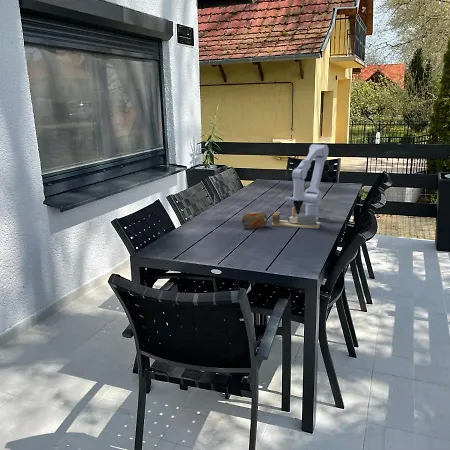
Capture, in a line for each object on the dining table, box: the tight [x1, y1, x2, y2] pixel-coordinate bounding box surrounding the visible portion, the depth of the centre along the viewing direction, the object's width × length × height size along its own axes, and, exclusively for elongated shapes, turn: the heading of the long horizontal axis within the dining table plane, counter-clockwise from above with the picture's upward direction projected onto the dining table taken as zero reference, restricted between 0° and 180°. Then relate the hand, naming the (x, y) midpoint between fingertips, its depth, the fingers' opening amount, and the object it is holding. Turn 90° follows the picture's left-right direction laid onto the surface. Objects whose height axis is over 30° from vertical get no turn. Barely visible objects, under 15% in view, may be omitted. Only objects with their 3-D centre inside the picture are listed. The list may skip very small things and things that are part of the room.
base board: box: [270, 219, 321, 229], centre depth 264 cm, size 10×26×1 cm, turn 75°
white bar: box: [287, 206, 318, 223], centre depth 262 cm, size 3×16×8 cm, turn 75°
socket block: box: [272, 211, 281, 224], centre depth 266 cm, size 7×3×5 cm, turn 165°
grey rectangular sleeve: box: [297, 214, 316, 225], centre depth 262 cm, size 5×10×4 cm, turn 75°
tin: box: [240, 211, 268, 229], centre depth 260 cm, size 15×3×8 cm, turn 105°
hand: (298, 213), depth 262 cm, fingers closed
